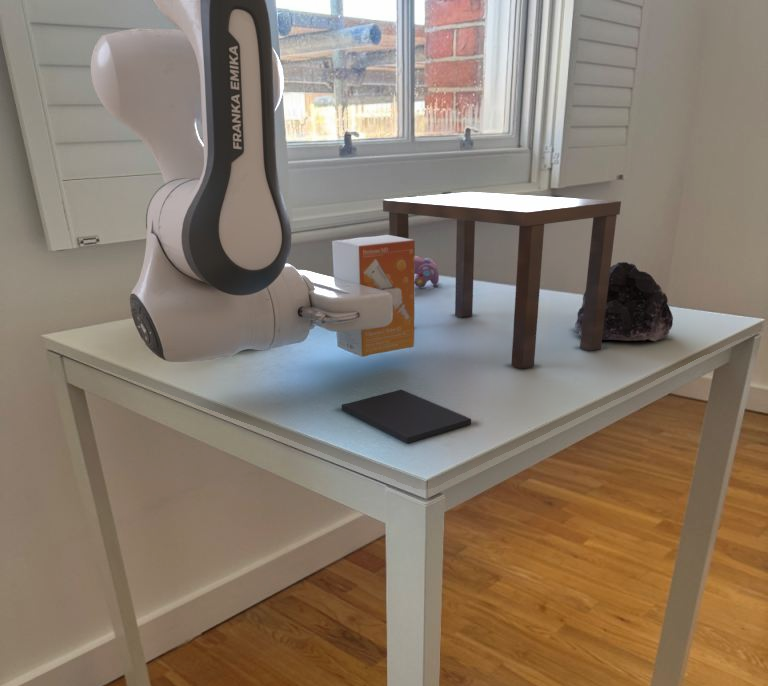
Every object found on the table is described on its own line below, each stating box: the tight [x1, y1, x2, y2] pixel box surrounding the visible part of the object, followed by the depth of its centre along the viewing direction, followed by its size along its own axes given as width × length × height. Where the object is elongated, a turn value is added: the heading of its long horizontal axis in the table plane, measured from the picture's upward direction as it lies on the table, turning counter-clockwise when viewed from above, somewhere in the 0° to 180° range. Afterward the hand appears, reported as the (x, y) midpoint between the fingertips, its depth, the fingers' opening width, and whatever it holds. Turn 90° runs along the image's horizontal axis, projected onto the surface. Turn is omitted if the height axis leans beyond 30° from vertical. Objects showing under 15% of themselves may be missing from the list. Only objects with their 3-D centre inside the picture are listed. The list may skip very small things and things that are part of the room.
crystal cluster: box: [574, 261, 674, 342], centre depth 98 cm, size 13×14×10 cm
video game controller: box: [414, 255, 440, 288], centre depth 133 cm, size 10×5×7 cm, turn 80°
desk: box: [382, 191, 622, 370], centre depth 95 cm, size 28×16×18 cm, turn 35°
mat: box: [340, 389, 472, 444], centre depth 73 cm, size 12×8×1 cm, turn 35°
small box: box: [331, 234, 416, 358], centre depth 86 cm, size 8×6×13 cm
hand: (379, 290), depth 87 cm, fingers closed on small box, 6 cm apart
